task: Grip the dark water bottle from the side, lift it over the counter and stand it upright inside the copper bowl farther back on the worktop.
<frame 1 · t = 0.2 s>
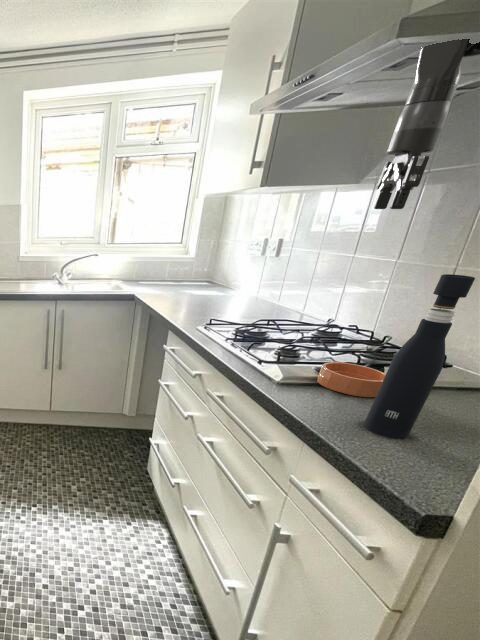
hand: (387, 209, 97), 40 cm above the countertop, tool pointing down, fingers open, 8 cm apart
bowl: (347, 388, 101), on the countertop
dark water bottle: (383, 432, 81), on the countertop
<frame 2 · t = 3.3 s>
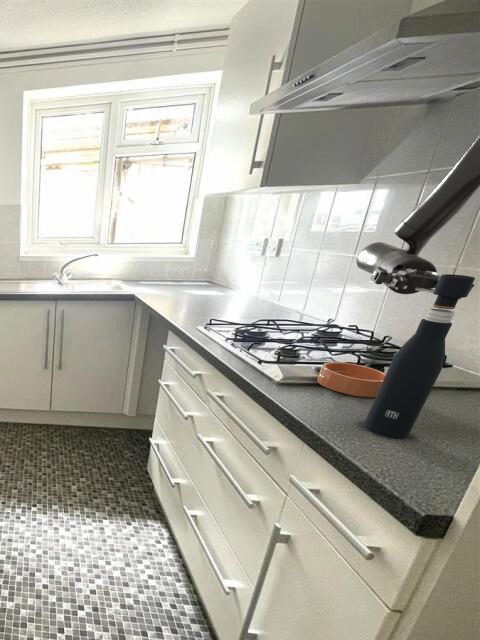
hand: (431, 289, 79), 26 cm above the countertop, tool horizontal, fingers open, 8 cm apart
nothing on the countertop moved.
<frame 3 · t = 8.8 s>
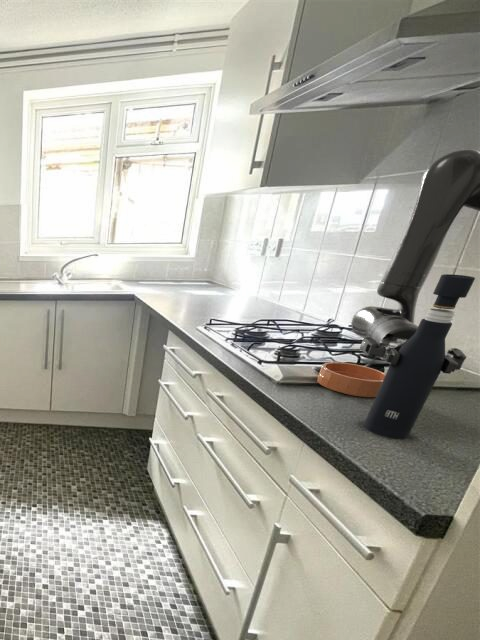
hand: (422, 364, 74), 15 cm above the countertop, tool horizontal, fingers closed on dark water bottle, 6 cm apart
dark water bottle: (383, 432, 81), on the countertop, touching gripper
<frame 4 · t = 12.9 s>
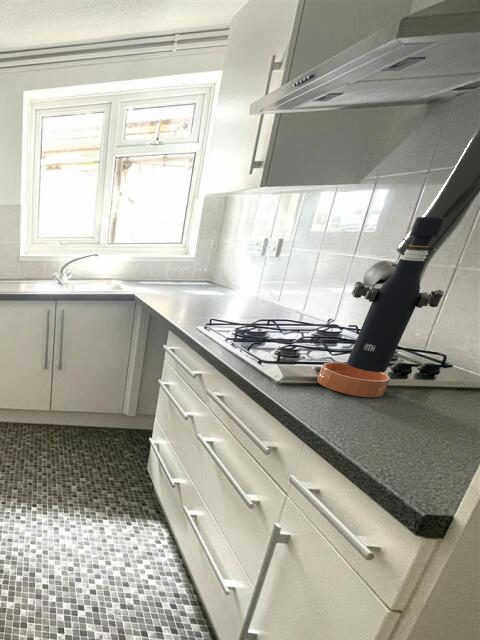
hand: (396, 299, 82), 24 cm above the countertop, tool horizontal, fingers closed on dark water bottle, 6 cm apart
dark water bottle: (365, 367, 90), point 9 cm above the countertop, touching gripper
when the fingers open (16 cm above the countertop, at t = 17.3 s): dark water bottle stays where it is, resting on bowl.
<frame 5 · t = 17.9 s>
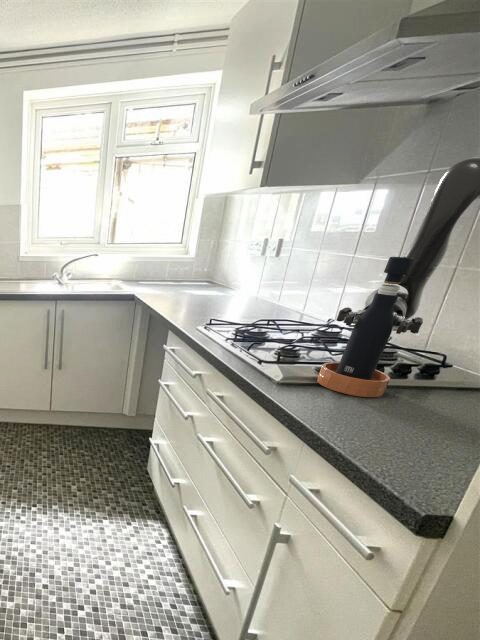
hand: (373, 325, 93), 16 cm above the countertop, tool horizontal, fingers open, 8 cm apart
dark water bottle: (348, 387, 101), resting on bowl
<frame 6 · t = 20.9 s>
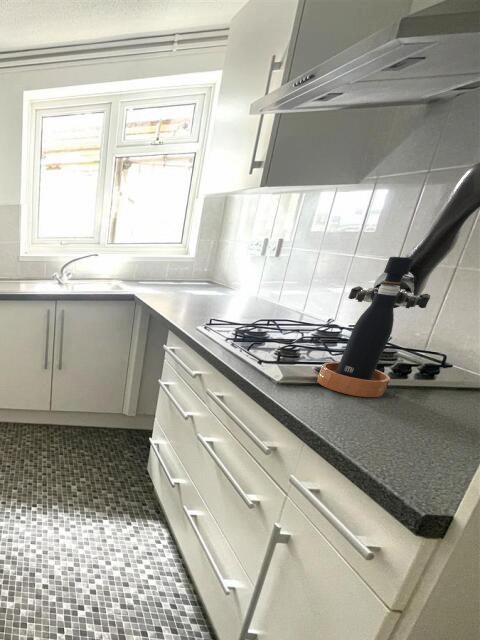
hand: (384, 300, 99), 20 cm above the countertop, tool horizontal, fingers open, 8 cm apart
nothing on the countertop moved.
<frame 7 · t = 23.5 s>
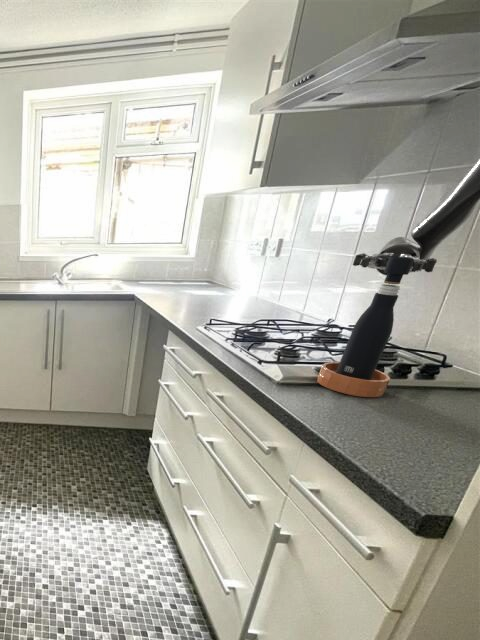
hand: (389, 264, 97), 28 cm above the countertop, tool horizontal, fingers open, 8 cm apart
nothing on the countertop moved.
at the end: dark water bottle 0.1 cm off-centre in the bowl, point 0.3 cm above the bowl's base; dark water bottle tilted 0°; the gripper is holding nothing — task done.
